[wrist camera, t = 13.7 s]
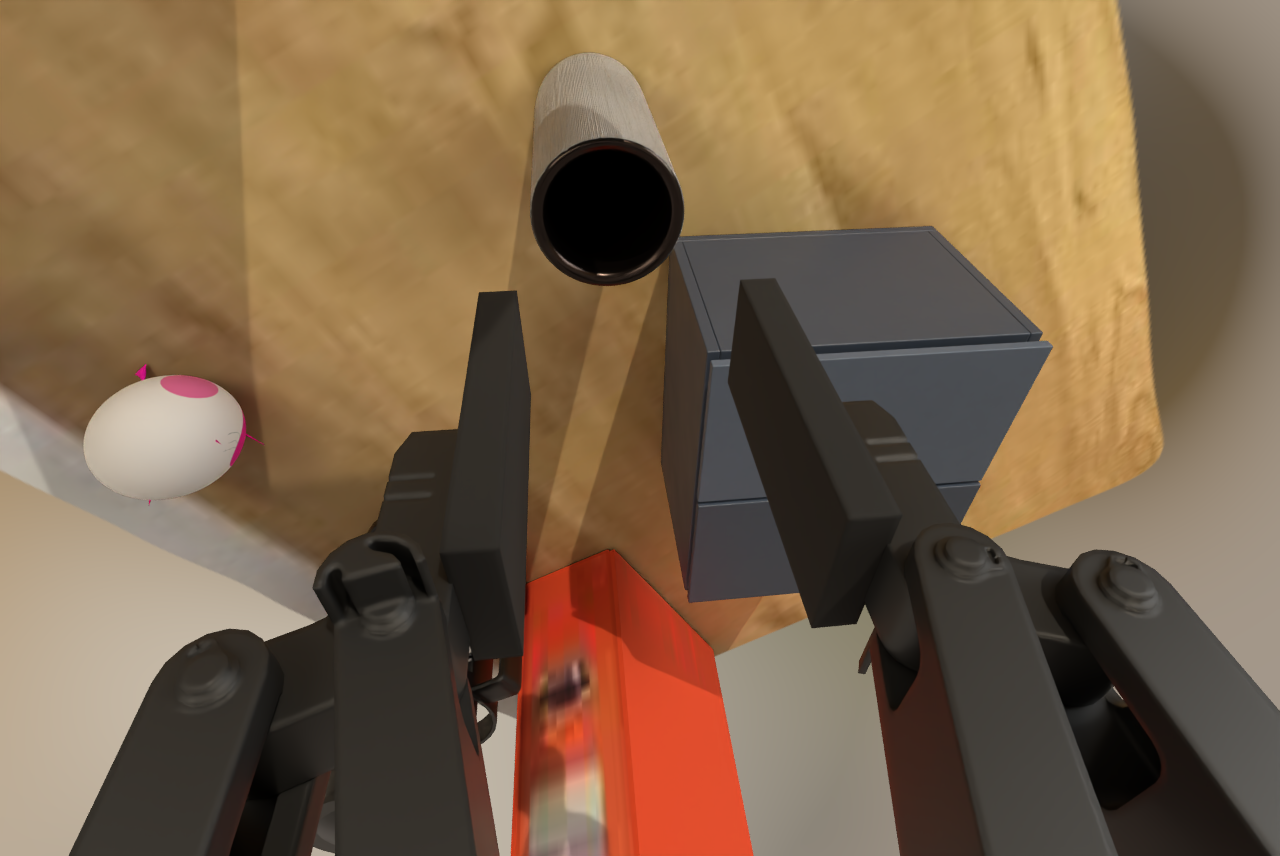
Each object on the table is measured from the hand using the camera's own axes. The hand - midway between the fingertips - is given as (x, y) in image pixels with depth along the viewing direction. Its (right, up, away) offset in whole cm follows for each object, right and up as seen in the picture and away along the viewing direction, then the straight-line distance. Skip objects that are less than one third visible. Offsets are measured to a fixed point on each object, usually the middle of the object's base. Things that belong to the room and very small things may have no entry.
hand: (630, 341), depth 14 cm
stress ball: (-23, -1, +20) cm, 30 cm away
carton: (+8, +2, +22) cm, 23 cm away
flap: (+9, -2, +12) cm, 15 cm away
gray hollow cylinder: (-2, +11, +12) cm, 17 cm away
